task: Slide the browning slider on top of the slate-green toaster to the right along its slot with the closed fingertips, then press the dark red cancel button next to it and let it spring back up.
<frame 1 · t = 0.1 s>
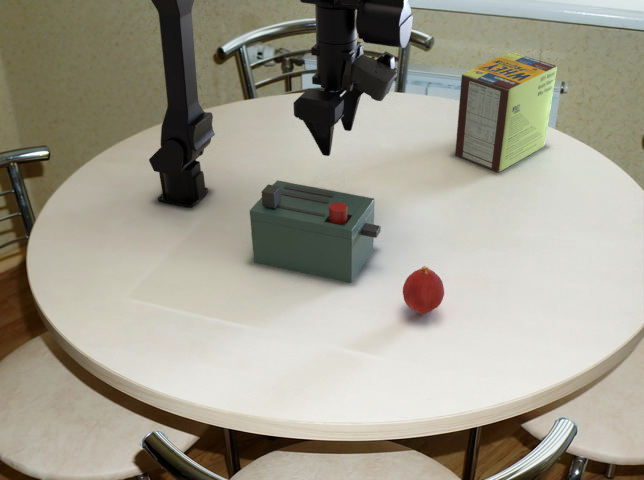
hand: (337, 142, 130), 15 cm above the table, tool pointing down, fingers open, 9 cm apart
toaster: (314, 255, 133), on the table
protein box: (499, 151, 161), on the table
slider: (271, 196, 125), point 10 cm above the table, slide at 0.0 cm
onion: (421, 314, 122), on the table
cancel button: (338, 213, 123), point 10 cm above the table, slide at 0.1 cm
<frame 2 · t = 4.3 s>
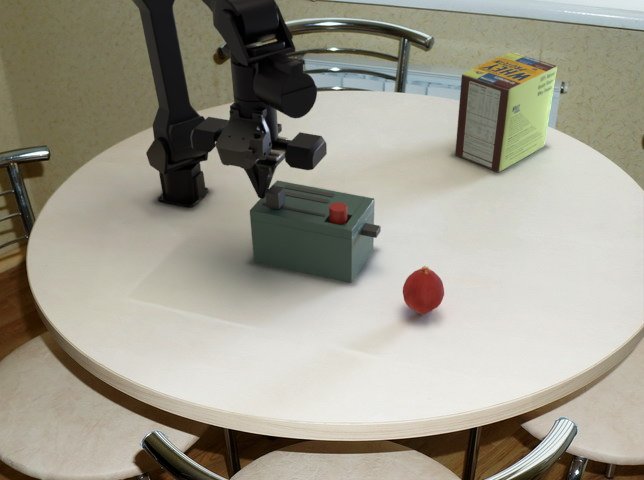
hand: (262, 197, 126), 10 cm above the table, tool pointing down, fingers closed
slider: (275, 197, 125), point 10 cm above the table, slide at 0.7 cm, touching gripper
everything else where it was.
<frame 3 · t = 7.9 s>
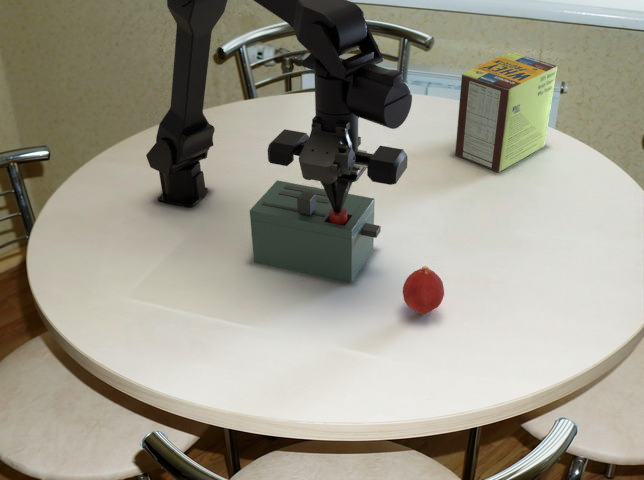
hand: (337, 211, 123), 10 cm above the table, tool pointing down, fingers closed, pressing on cancel button
slider: (306, 203, 124), point 10 cm above the table, slide at 5.6 cm
cancel button: (338, 218, 124), point 9 cm above the table, slide at -0.6 cm, touching gripper
everything else where it was.
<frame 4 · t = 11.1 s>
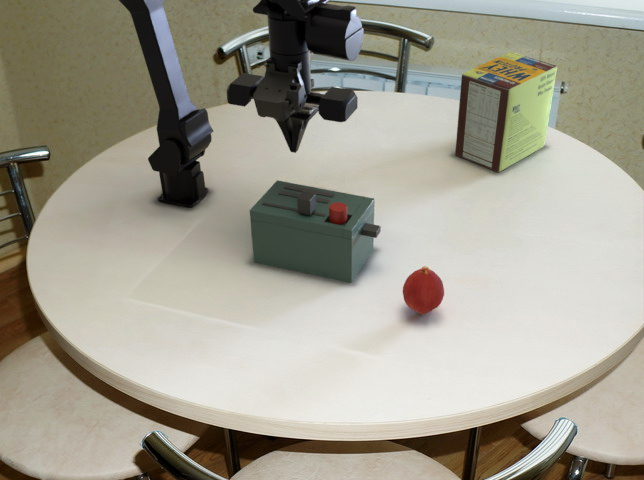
hand: (294, 151, 131), 13 cm above the table, tool pointing down, fingers closed
cancel button: (338, 213, 123), point 10 cm above the table, slide at 0.1 cm
everything else where it was.
at the end: slider slide at 5.6 cm; cancel button pushed in 0.7 cm at the most during the clip, back to where it started at the end; cancel button slide at 0.1 cm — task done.
